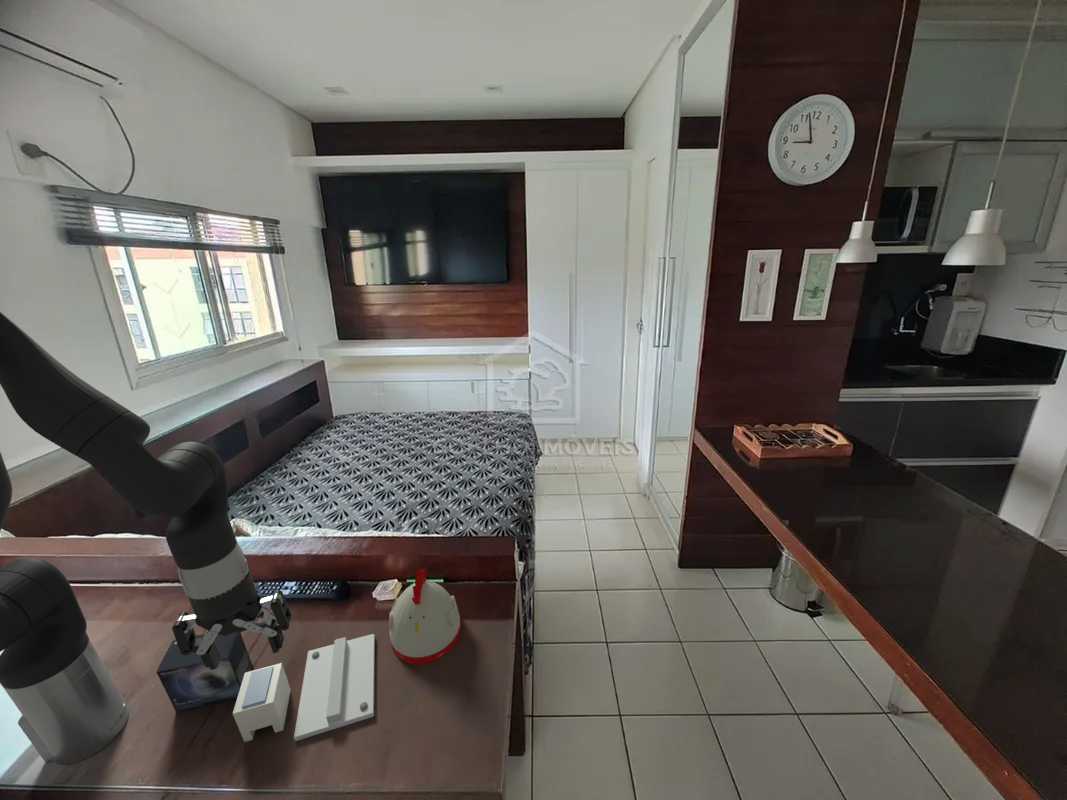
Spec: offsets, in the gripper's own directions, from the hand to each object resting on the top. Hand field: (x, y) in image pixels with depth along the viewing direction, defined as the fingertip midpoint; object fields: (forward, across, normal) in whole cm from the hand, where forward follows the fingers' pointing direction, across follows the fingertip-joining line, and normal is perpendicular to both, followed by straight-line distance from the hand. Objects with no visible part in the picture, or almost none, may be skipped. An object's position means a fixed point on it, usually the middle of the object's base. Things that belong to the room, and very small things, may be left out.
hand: (247, 656), depth 69 cm
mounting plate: (+14, +11, +2) cm, 18 cm away
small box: (+14, -10, +8) cm, 19 cm away
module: (+14, 0, 0) cm, 14 cm away
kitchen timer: (+15, +27, +8) cm, 32 cm away
